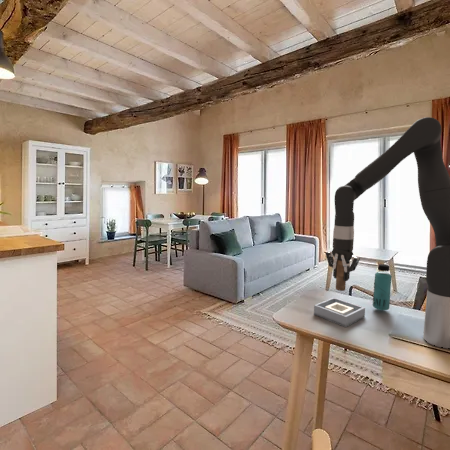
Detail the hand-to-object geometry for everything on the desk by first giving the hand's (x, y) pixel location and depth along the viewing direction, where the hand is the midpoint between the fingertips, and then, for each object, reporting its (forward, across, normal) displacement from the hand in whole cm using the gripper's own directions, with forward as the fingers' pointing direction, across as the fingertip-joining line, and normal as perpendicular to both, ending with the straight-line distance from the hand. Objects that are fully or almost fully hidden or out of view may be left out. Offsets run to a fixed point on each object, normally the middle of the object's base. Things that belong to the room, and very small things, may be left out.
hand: (340, 279), depth 118 cm
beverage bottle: (+15, -8, -18) cm, 25 cm away
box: (+15, 0, 0) cm, 15 cm away
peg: (+4, 0, 0) cm, 4 cm away
